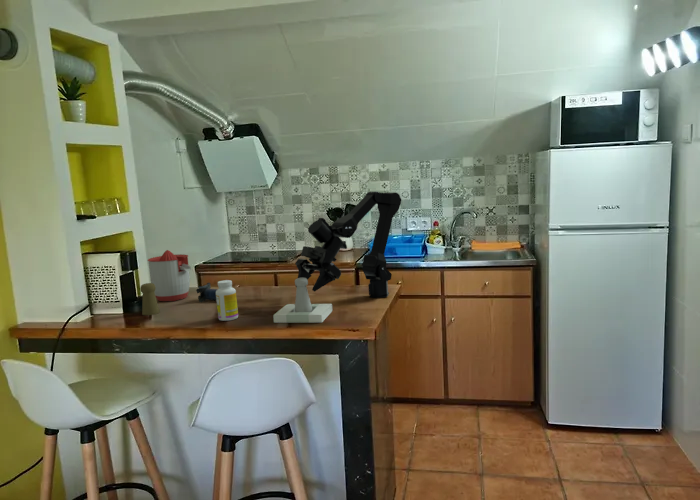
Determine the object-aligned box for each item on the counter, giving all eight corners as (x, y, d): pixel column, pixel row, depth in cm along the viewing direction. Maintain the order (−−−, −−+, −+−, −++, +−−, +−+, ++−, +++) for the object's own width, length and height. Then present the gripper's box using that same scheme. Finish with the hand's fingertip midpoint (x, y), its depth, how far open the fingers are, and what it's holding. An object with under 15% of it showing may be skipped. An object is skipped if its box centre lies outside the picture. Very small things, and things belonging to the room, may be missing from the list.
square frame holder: (332, 310, 187) (331, 303, 187) (321, 322, 173) (321, 314, 173) (287, 311, 190) (287, 304, 190) (273, 322, 177) (273, 315, 176)
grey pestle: (309, 319, 178) (307, 279, 177) (293, 319, 180) (289, 280, 178) (314, 314, 184) (311, 276, 182) (298, 314, 185) (295, 276, 183)
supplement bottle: (242, 316, 187) (238, 279, 185) (231, 321, 181) (228, 283, 179) (225, 315, 190) (221, 279, 188) (214, 321, 183) (210, 283, 182)
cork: (143, 316, 196) (139, 286, 195) (141, 312, 202) (137, 283, 200) (160, 313, 199) (157, 283, 197) (158, 310, 204) (154, 281, 203)
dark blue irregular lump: (198, 306, 213) (225, 308, 209) (194, 287, 211) (222, 289, 207) (211, 296, 221) (237, 298, 217) (207, 278, 219) (234, 280, 215)
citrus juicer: (179, 304, 212) (173, 253, 209) (143, 302, 218) (137, 253, 215) (204, 294, 226) (199, 246, 223) (170, 293, 233) (164, 247, 230)
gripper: (297, 235, 189) (273, 272, 184) (332, 238, 175) (306, 278, 170) (317, 254, 196) (294, 290, 190) (351, 259, 182) (328, 298, 176)
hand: (304, 289), depth 181 cm, fingers open, 9 cm apart
